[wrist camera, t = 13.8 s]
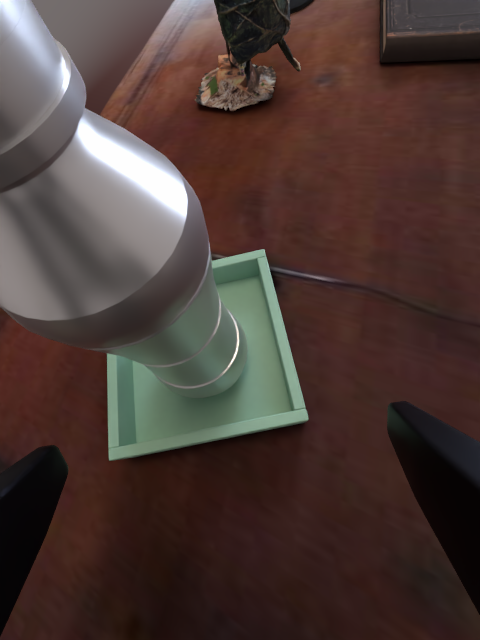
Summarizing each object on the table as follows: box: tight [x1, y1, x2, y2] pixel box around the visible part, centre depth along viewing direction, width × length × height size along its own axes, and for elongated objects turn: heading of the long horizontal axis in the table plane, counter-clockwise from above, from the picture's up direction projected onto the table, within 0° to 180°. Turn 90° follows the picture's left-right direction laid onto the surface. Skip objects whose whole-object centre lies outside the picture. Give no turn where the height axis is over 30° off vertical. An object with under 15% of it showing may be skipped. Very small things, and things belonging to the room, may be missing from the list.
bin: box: [107, 249, 308, 461], centre depth 22 cm, size 12×12×3 cm
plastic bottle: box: [0, 0, 248, 398], centre depth 13 cm, size 6×7×20 cm
